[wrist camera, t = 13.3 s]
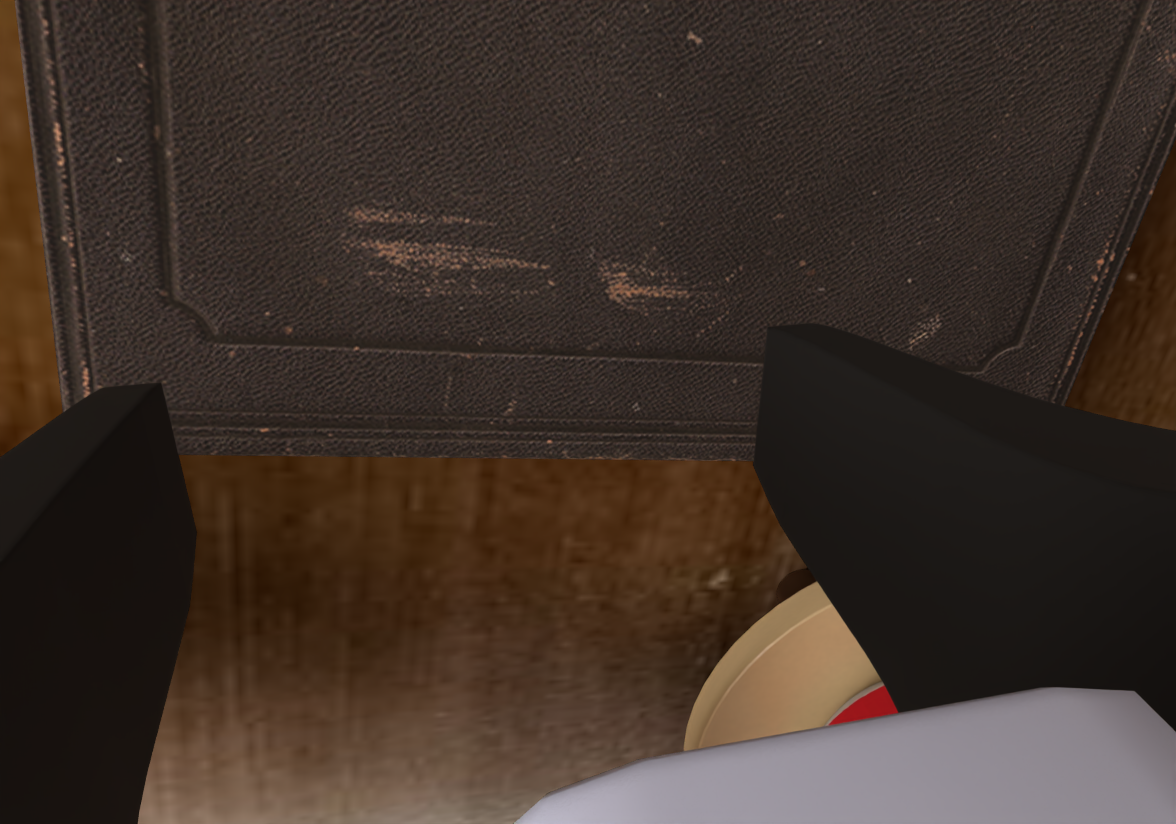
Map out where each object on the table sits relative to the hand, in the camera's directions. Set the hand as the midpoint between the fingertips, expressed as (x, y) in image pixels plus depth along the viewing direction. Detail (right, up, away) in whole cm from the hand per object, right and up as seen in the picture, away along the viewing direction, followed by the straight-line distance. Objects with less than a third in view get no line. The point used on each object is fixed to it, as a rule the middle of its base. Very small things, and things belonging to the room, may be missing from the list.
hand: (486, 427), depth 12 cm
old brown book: (+3, +7, +9) cm, 12 cm away
